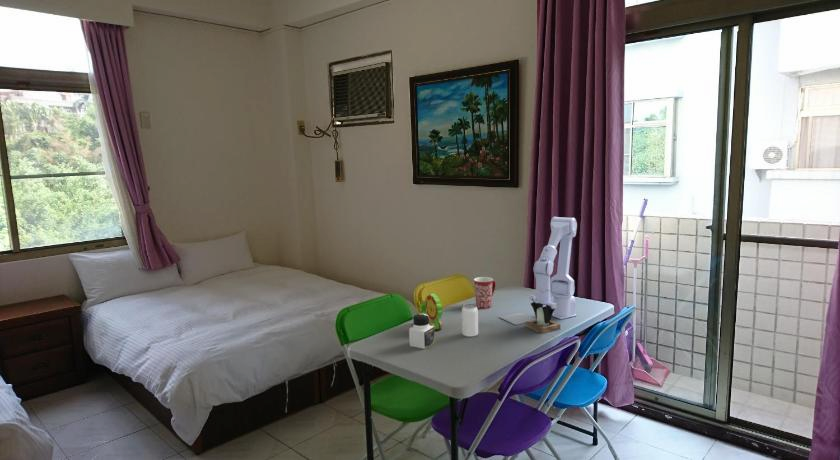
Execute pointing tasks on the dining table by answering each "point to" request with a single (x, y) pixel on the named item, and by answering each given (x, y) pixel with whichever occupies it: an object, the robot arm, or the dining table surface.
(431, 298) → the toy lion
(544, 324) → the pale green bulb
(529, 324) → the frame
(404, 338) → the dining table surface
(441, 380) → the dining table surface
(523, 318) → the mat
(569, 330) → the dining table surface
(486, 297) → the mug
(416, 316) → the medicine bottle
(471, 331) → the can
